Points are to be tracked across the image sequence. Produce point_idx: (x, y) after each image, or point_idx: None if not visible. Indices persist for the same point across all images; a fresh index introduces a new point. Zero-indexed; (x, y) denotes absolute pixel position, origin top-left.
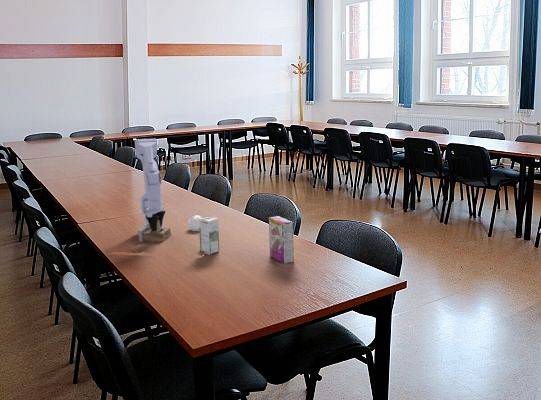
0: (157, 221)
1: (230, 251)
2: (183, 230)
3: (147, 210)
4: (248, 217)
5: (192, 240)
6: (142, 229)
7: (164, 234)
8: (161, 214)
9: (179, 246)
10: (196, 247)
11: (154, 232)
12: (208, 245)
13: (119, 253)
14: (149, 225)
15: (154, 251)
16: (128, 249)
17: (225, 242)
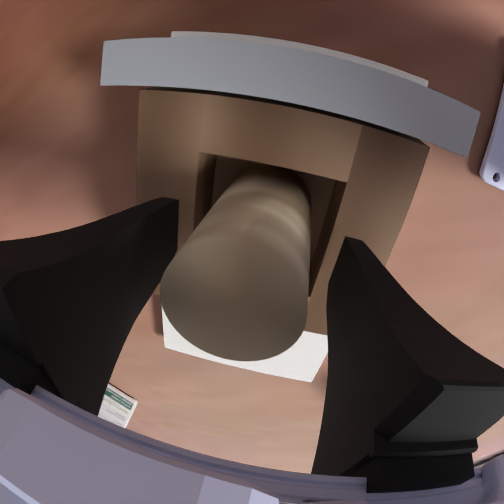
0: (184, 337)
1: (136, 425)
2: (486, 329)
3: (16, 422)
4: (494, 451)
5: (258, 377)
6: (159, 72)
7: None
8: (327, 446)
9: (147, 325)
10: (149, 376)
11: (182, 215)
12: None
13: (6, 29)
14: (407, 133)
15: (48, 212)
16: (56, 34)
17: (225, 439)
